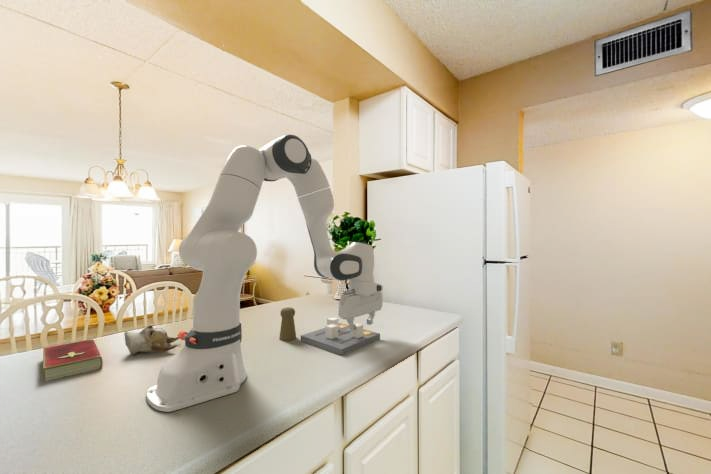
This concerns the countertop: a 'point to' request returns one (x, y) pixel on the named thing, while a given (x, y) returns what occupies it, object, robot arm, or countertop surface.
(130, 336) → the ceramic sculpture
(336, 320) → the switch left
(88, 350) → the hardcover book
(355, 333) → the cream slider knob
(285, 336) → the cork
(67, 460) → the countertop surface
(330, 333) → the switch middle
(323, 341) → the switch panel
